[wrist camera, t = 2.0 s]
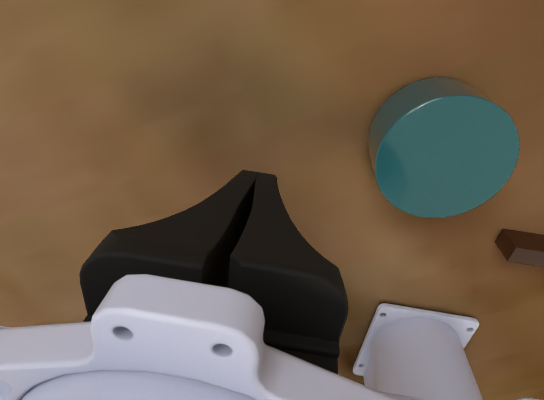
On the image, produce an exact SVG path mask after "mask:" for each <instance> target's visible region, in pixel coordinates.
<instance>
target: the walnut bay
mask: <svg viewBox="0 0 544 400" xmlns="http://www.w3.org/2000/svg"><path fill="white" fill-rule="evenodd" d="M495 243H496V244H497V246H498V247H499V249H500V250H501V252H502V253H503V255H504V257H505V258H506V260H507V261H509V262H515V263H521V264H527V265H533V266H540V267H544V235H538V234H532V233H526V232H519V231H513V230H507V229H503V230H502V231H501V233H500V235H499V236H498V238H497V240H496V242H495Z"/></svg>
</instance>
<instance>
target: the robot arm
mask: <svg viewBox="0 0 544 400" xmlns="http://www.w3.org/2000/svg"><path fill="white" fill-rule="evenodd" d="M80 285H81V289H82V293H83V297H84V301H85V305H86V310H87V314H88V315H87V317H86V318H85V320H84V321H83V322H76V323H63V324H50V325H37V326H24V327H6V326H0V400H483V399H482V396H481V393H480V391H479V388H478V386H477V383H476V380H475V378H474V375H473V373H472V370H471V367H470V365H469V362H468V360H467V357H466V354H465V352H464V347H465V346H466V344H467V343H468V341H469V340H470V338H471V337H472V335H473V334H474V332H475V331H476V329H477V328H478V326H479V323H478V320H477V319H475V318H471V317H465V316H459V315H453V314H447V313H441V312H435V311H429V310H423V309H417V308H411V307H405V306H399V305H393V304H387V303H382V304H380V305H379V306H378V307H377V310H376V312H375V315H374V317H373V320H372V322H371V325H370V327H369V329H368V332H367V334H366V337H365V339H364V342H363V344H362V347H361V349H360V351H359V354H358V356H357V359H356V361H355V364H354V366H353V373H354V374H356V375H360V376H364V385H365V386H364V385H362V384H360V383H357V382H355V381H352V380H350V379H348V378H345V377H343V376H340V375H338V362H337V358H338V357H339V339H340V336H341V333H342V331H343V328H344V325H345V322H346V319H347V314H348V301H347V295H346V291H345V287H344V284H343V280H342V277H341V274H340V271H339V269H338V267H336V266H335V265H334V264H332V263H331V262H330V261H328V260H327V259H325V258H324V257H323V256H321V255H320V254H319V253H318V252H317V251H316V250H315V249H314V248H312V247H311V246H310V245H309V243H308V242H307V241H306V240H305V239H304V238H303V237H302V235H301V234H300V233H299V231H298V230H297V228H296V227H295V225H294V224H293V222H292V221H291V219H290V217H289V215H288V213H287V211H286V209H285V207H284V204H283V202H282V199H281V196H280V193H279V189H278V185H277V177H276V176H275V175H272V174H266V173H259V172H253V171H247V170H242V171H241V172H240V173H238V174H237V175H236V176H235V177H234V178H233V179H232V180H230V181H229V182H228V183H227V184H226V185H224V186H223V187H222V188H221V189H219V190H218V191H217V192H215V193H214V194H213V195H211V196H210V197H208V198H207V199H205V200H204V201H202V202H200V203H199V204H197V205H195V206H193V207H191V208H189V209H187V210H185V211H182V212H180V213H177V214H175V215H172V216H170V217H167V218H164V219H161V220H158V221H155V222H151V223H148V224H144V225H139V226H135V227H129V228H124V229H118V230H112V231H111V232H110V233H109V234H108V235H107V236H106V237H105V238H104V239H103V240H102V242H101V243H100V244H99V245H98V246H97V248H96V249H95V250H94V251H93V253H92V254H91V255H90V256H89V258H88V259H87V260H86V261H85V263H84V264H83V265H82V268H81V271H80ZM515 400H541V399H535V398H525V397H522V398H518V399H515Z"/></svg>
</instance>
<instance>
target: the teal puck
mask: <svg viewBox="0 0 544 400" xmlns="http://www.w3.org/2000/svg"><path fill="white" fill-rule="evenodd" d="M519 150H520V140H519V135H518V131H517V128H516V125H515V123H514V122H513V120H512V118H511V117H510V116H509V114H508V113H507V112H506V111H505V110H504V109H502V108H501V107H500V106H499V105H497V104H496V103H495V102H493V101H492V100H491V99H489V98H488V97H487V96H485V95H484V94H483V93H481V92H480V91H479V90H477V89H476V88H474V87H473V86H471V85H470V84H468V83H466V82H463V81H461V80H458V79H453V78H445V77H437V78H428V79H423V80H420V81H417V82H414V83H412V84H409V85H407V86H405V87H404V88H402V89H400V90H399V91H397V92H396V93H394V94H393V95H392V96H391V97H390V98H389V99H387V100H386V101H385V103H384V104H383V105H382V106H381V107H380V109H379V110H378V112H377V113H376V115H375V117H374V119H373V121H372V123H371V126H370V129H369V133H368V152H369V156H370V160H371V163H372V167H373V170H374V174H375V178H376V181H377V184H378V186H379V189H380V191H381V192H382V194H383V195H384V197H385V198H386V199H387V200H388V201H389V202H390V203H391V204H392V205H393V206H395V207H397V208H398V209H400V210H402V211H404V212H406V213H408V214H411V215H414V216H419V217H425V218H443V217H450V216H455V215H458V214H461V213H465V212H467V211H469V210H472V209H474V208H476V207H478V206H480V205H481V204H483V203H484V202H486V201H487V200H489V199H490V198H491V197H493V196H494V195H495V194H496V193H497V192H498V191H499V190H500V189H501V188H502V187H503V186H504V184H505V183H506V182H507V181H508V179H509V178H510V176H511V174H512V173H513V170H514V168H515V166H516V163H517V160H518V156H519Z"/></svg>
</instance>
